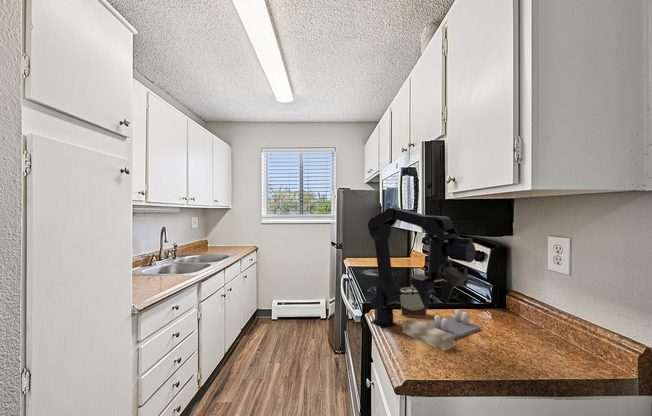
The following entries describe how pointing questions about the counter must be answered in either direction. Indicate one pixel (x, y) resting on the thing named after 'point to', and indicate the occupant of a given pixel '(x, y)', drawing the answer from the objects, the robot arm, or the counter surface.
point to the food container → (411, 302)
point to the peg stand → (455, 324)
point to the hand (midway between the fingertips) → (436, 305)
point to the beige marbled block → (428, 334)
